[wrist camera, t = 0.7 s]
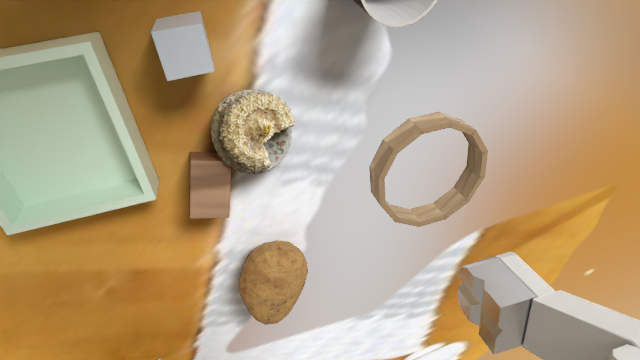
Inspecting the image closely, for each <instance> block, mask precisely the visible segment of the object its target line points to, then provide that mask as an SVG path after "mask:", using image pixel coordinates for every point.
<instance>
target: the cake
mask: <svg viewBox="0 0 640 360" xmlns="http://www.w3.org/2000/svg"><path fill="white" fill-rule="evenodd" d="M290 110H291V109H289V107H287V106H286V102H284V101H283V100H282V99H280V98H278V97H276V96H275V94H272V95H271V94H270V93H265V92H262V91H260V90H258V91H257V90H252V89H248V90H245V89H243V90H241V91H236V92H235V93H233V94H230V95H229V96H228V97H226V98H224V99H223V101H222V102H221V103H219V105H218V108H217V109H216V110H215V113H214V115H213V118H212V119H213V121H212V123H211V128H212V129H211V135H212V141H213V143H214V148H215V149H216V151H217V152H218V155H219V156H220V157H221V159H222V160H223V162H225V163H226V164H227V165H228V166H230V167H232V168H233V169H234V170H239V171H240V172H246V173H248V174H250V173H253V174H257V173H262V172H265V171H266V170H267V171H268V170H270V169H271V168H273V167H275V166H276V165H277V164H279V163H280V162H281V160H282V159H283V158H284V157H285V155H286V153H287V152H288V149H289V146H290V141H291V132H292V131H291V127H292V126H294V125H295V123H294V122H295V121H294V119H293V116H292V114H291V113H290ZM265 127H266V128H265Z"/></svg>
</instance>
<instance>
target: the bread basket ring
mask: <svg viewBox="0 0 640 360" xmlns="http://www.w3.org/2000/svg"><path fill="white" fill-rule="evenodd" d="M449 127H450V128H453V129H456V130H459V131H462V132H463V134H464V136H465V137H466V139H467V141H468V142H469V147H468V158H467V167H466V168H465V170H464V171H463V173H462V175H461V176H460V178H459V180H458V181H457V183H456V184H455V186H454V188H452V189H451V190H450V191H448V192H447V193H446V194H444V195H443V196H442V197H440V198H439V199H438V200H437V201H435V202H434V203H432V204H428V205H424V206H420V207H417V208H413V209H406V208H402V207H398V206H393V205H389V204H388V203H387V201H386V200H385V183H384V178H385V176H386V175H387V172H388V170H389V169H390V167H391V165H392V163H393V161H394V159H395V157H396V155H397V153H399V152H400V151H401V150H402V149H404V148H405V147H406V146H407V145H409V144H410V143H411V142H412V141H414V140H415V139H416V138H417V137H419V136H420V135H421V134H424V133H428V132H432V131H436V130H441V129H445V128H449ZM487 153H488V151H487V149H486V147H485V145H484V143H483V142H482V140H481V138H480V136H479V134H478V133H477V131H476V130H475V129H474V128H472V127H471V126H469V125H468V124H466V123H465V122H464V121H462V120H460V119H457V118H454V117H451V116H448V115H446V114H443V113H440V112H435V113H431V114H427V115H423V116H419V117H415V118H410V119H408V120H407V121H405V122H404V123H403V124H402V125H400V126H399V127H398V128H397V129H396V130H394V131H393V132H392V133H390V134H389V135H388V136H387V137H385V138H384V139H383V141H382V143H381V145H380V147H379V149H378V151H377V153H376V155H375V157H374V159H373V161H372V163H371V165H370V182H371V192H372V193H373V195H374V197H375V198H376V199H377V201H378V202H379V204H380V205H381V206H382V208H384V210H385V211H386V212H387V213H388V214H389V215H390V217H391V218H392V219H393V220H394V221H395V222H399V223H404V224H409V225H414V226H418V227H419V226H423V225H427V224H430V223H433V222H437V221H441V220H444V219H446V218H448V217H449V216H450V215H452V214H453V213H454V212H455V211H457V210H458V209H460V208H461V207H462V206H464V205H465V204H466V203H468V202H469V201H470V199H471V198H472V196H473V195H474V193H475V191H476V190H477V188H478V187H479V185H480V184H481V182H482V180H483V179H484V177H485V169H486V160H487Z"/></svg>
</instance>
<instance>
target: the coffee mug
mask: <svg viewBox="0 0 640 360" xmlns="http://www.w3.org/2000/svg"><path fill="white" fill-rule="evenodd" d="M354 1H355V2H356V3H357V4H358V5H359V6H360V7H361V8H362V9H364V10H365V11H366V12H367V13H368V14H369V15H370V16H371V17H372V18H373V19H375V20H376V21H377V22H379V23H381V24H383V25H386V26H390V27H402V26H407V25H410V24H412V23H414V22H416V21H418V20H419V19H421V18H422V17H424V16H425V15H426V14H427V13H428V12H429V11H430V10H431V9H432V7H433V6H434V5H435V3H436V2H437V0H354Z"/></svg>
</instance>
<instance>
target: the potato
mask: <svg viewBox="0 0 640 360" xmlns="http://www.w3.org/2000/svg"><path fill="white" fill-rule="evenodd" d="M307 272H308V269H307V262H306V260H305V257H304V255H303V253H302V252H301V251H300V250H299V248H297V247H296V246H294V245H293V244H291V243H290V242H284V241H273V242H268V243H264V244H262V245H260V246H259V247H257V248H255V249H254V250H253V251H252V253H251V254H250V255H249V256H248V258H247V261H246V263H245V265H244V268H243V271H242V274H241V277H240V279H239V291H240V294H241V297H242V299H243V301H244V303H245V305H246V307H247V309H248V311H249V312H250V313H251V315H252V316H253V317H254V318H255V319H256V320H257V321H260V322H262V323H264V324H273V323H278V322H279V321H281V320H282V319H283V318H284V317H286V316H287V315H288V314H289V312H290V311H291V309H292V308H293V306H294V305H295V303H296V301H297V299H298V298H299V296H300V294H301V291H302V289H303V287H304V284H305V280H306V276H307Z"/></svg>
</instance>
